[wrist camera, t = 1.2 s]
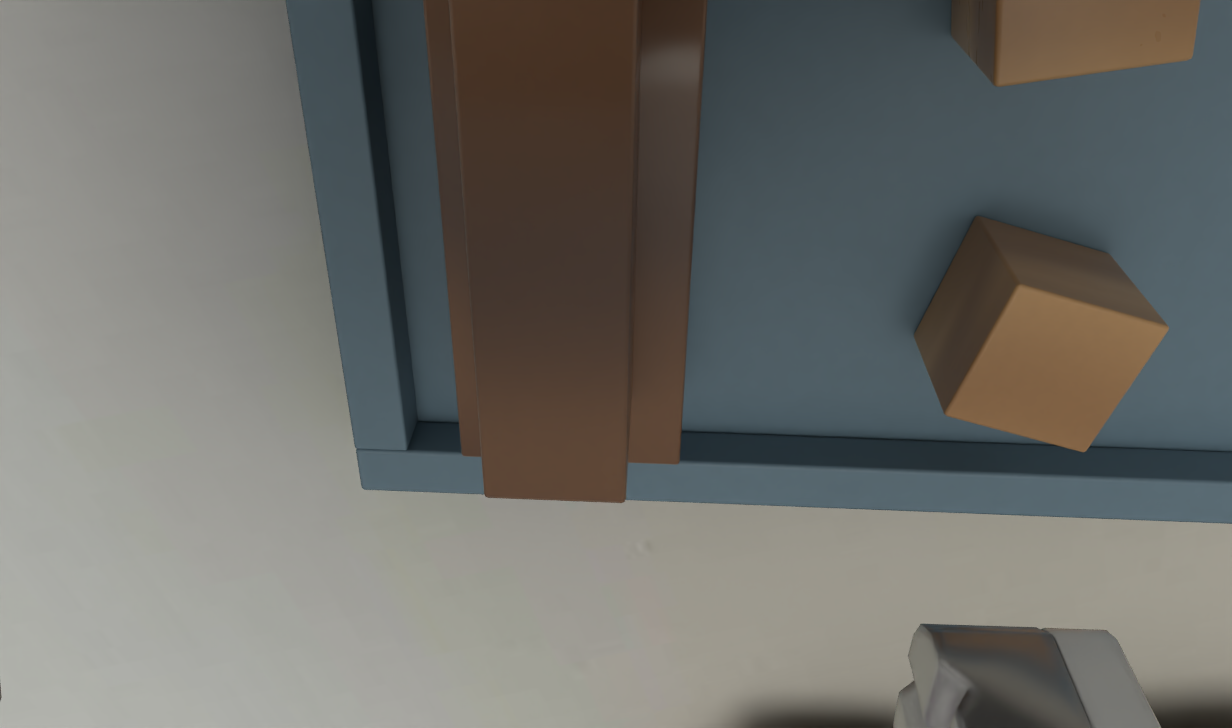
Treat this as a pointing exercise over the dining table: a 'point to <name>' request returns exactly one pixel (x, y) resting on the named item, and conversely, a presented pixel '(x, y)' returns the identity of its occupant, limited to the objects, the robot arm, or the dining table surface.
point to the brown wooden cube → (1035, 335)
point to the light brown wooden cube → (1071, 36)
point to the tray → (821, 258)
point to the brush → (567, 232)
